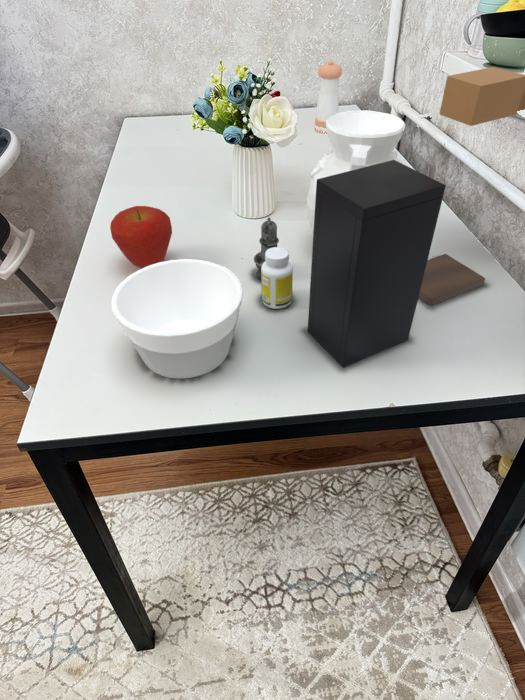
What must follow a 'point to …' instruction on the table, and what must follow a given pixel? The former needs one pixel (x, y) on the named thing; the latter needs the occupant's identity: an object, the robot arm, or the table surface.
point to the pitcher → (355, 146)
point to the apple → (142, 234)
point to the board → (447, 279)
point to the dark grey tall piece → (266, 243)
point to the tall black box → (369, 257)
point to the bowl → (179, 315)
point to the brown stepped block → (483, 95)
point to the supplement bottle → (277, 278)
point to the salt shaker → (327, 93)
